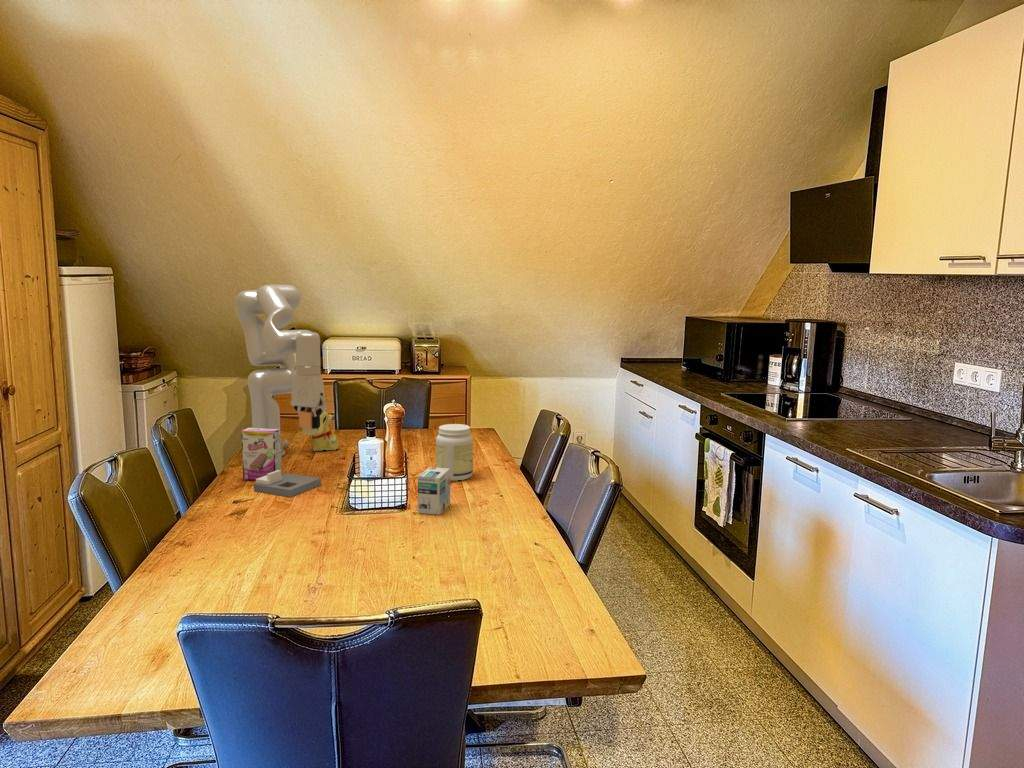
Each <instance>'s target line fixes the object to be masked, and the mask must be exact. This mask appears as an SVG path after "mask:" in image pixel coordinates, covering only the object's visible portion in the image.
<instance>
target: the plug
mask: <svg viewBox="0 0 1024 768" xmlns="http://www.w3.org/2000/svg"><path fill="white" fill-rule="evenodd" d="M316 411H317V409H316ZM312 417H313V412H312V408H309V407H306V410H303V411H299V415H298V427H299V428H301V431H302V432H301V433H302V435H305V436H312V435H314V434H317V428H316V429H312Z"/></svg>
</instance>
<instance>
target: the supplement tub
mask: <svg viewBox="0 0 1024 768" xmlns="http://www.w3.org/2000/svg"><path fill="white" fill-rule="evenodd" d="M473 466H474V438H473V436H472V434H471V426H469V425H467V424H463V423H462V424H461V423H447V424H443V425H440V426H438V434H437V436H436V438H435V467H436V468H448V469H450V482H459V481H458V480H461V481H465V479H466V480H469V479H470V478H472V476H473V473H474V467H473Z"/></svg>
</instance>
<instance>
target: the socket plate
mask: <svg viewBox="0 0 1024 768" xmlns="http://www.w3.org/2000/svg"><path fill="white" fill-rule="evenodd" d="M281 476H283V480H281V481H278V482H276V483H273V484H270V485H266V484H260V483H256V482H255V483H253V491H254V492H257V493H262V492H264V494H268V493H271V494H270V495H274V494H275V496H280V495H281V496H280V497H285V496H287V497H286V498H292V496H293V497H295V496H298V495H300V494H303V493H305V492H307V490H308V491H309V489H310V490H312V489H315V488H317V487H320V486H322V477H317V476H316V477H314V476H311V475H310V476H308V475H301V474H297V473H290V472H284V473H283V472H282V474H281ZM319 485H320V486H319ZM314 487H315V488H314ZM302 492H303V493H302ZM299 493H300V494H299ZM294 495H295V496H294Z"/></svg>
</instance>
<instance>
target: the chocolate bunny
mask: <svg viewBox="0 0 1024 768" xmlns="http://www.w3.org/2000/svg"><path fill="white" fill-rule="evenodd" d="M332 420H333V415H332V414H330V413H328V412H327V411H326V410H324V412H323V413H322V415H320V427H319V428H317V434H314V435H311V437H310V438H309V441H310V442H312V444H313V447H312V451H313V452H322V451H323V450H326V451H337V450H338V449H340V442H339V440H338V439H339V438H338V437H337V436H336V434H335V433H334V432H333V431H332V430H331V429H330V423H331V422H332ZM336 449H337V450H336ZM323 452H324V451H323Z"/></svg>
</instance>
